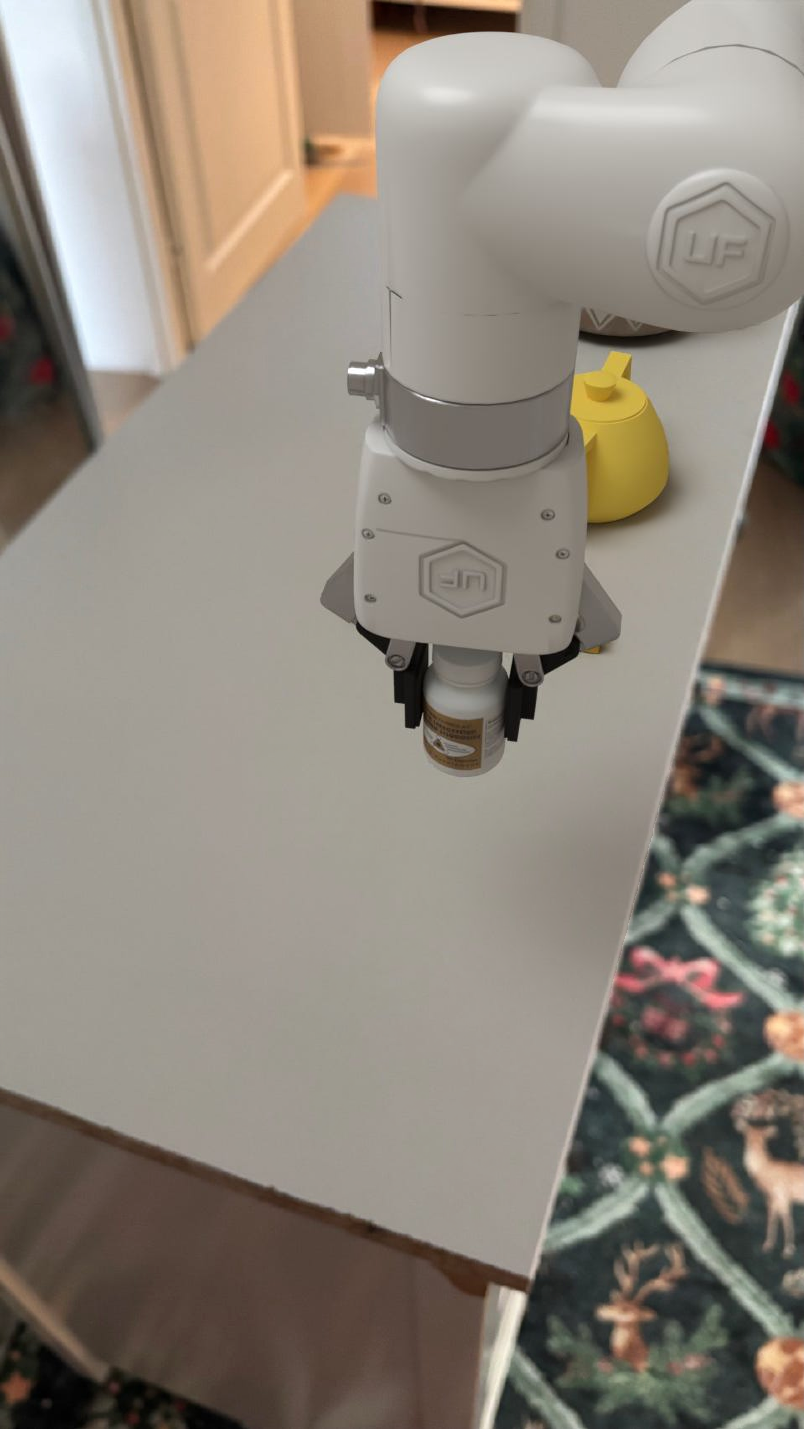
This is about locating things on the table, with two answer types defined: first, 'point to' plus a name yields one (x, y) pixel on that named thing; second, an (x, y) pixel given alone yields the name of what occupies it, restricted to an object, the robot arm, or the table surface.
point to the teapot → (619, 441)
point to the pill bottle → (464, 710)
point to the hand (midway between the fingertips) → (465, 713)
